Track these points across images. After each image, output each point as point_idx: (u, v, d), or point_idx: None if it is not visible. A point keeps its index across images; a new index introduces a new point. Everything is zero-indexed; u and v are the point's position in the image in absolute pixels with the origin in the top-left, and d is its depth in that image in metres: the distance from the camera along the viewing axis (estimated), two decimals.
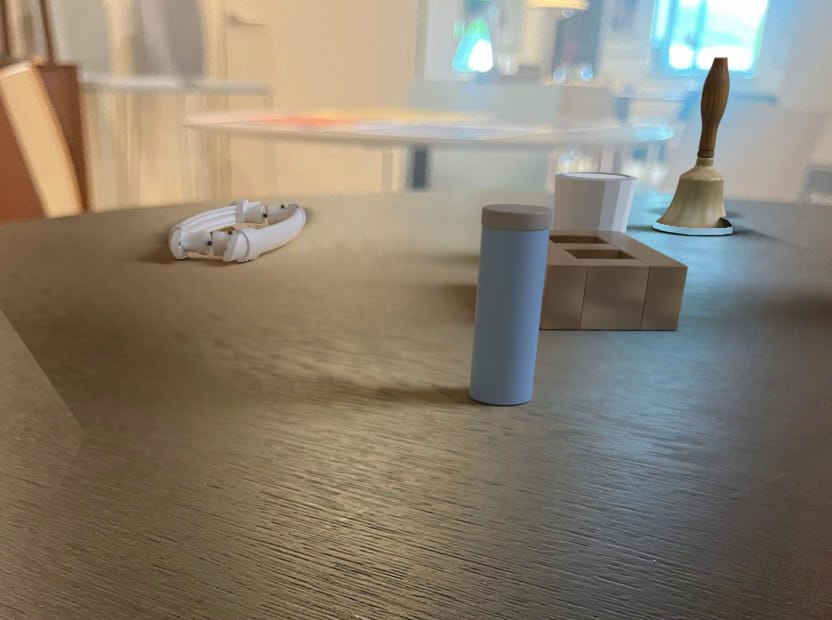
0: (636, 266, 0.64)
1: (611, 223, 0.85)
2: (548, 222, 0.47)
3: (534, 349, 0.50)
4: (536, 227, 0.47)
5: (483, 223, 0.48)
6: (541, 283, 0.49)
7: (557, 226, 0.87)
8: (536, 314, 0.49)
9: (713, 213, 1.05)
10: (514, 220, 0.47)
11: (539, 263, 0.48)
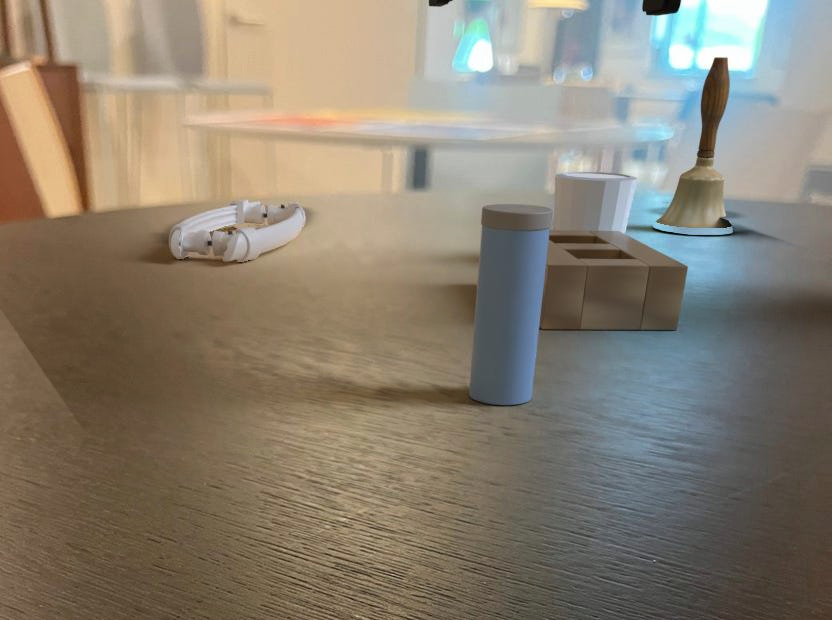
0: (636, 266, 0.64)
1: (611, 223, 0.85)
2: (548, 222, 0.47)
3: (534, 349, 0.50)
4: (536, 227, 0.47)
5: (483, 223, 0.48)
6: (541, 283, 0.49)
7: (557, 226, 0.87)
8: (536, 314, 0.49)
9: (713, 213, 1.05)
10: (514, 220, 0.47)
11: (539, 263, 0.48)
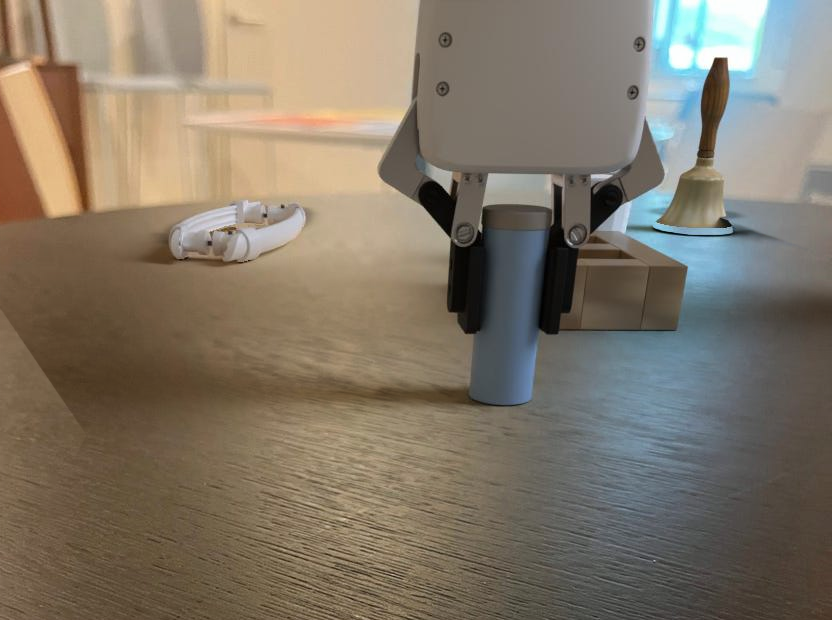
0: (636, 266, 0.64)
1: (611, 223, 0.85)
2: (548, 222, 0.47)
3: (534, 349, 0.50)
4: (536, 227, 0.47)
5: (483, 223, 0.48)
6: (541, 283, 0.49)
7: None
8: (536, 314, 0.49)
9: (713, 213, 1.05)
10: (514, 220, 0.47)
11: (539, 263, 0.48)
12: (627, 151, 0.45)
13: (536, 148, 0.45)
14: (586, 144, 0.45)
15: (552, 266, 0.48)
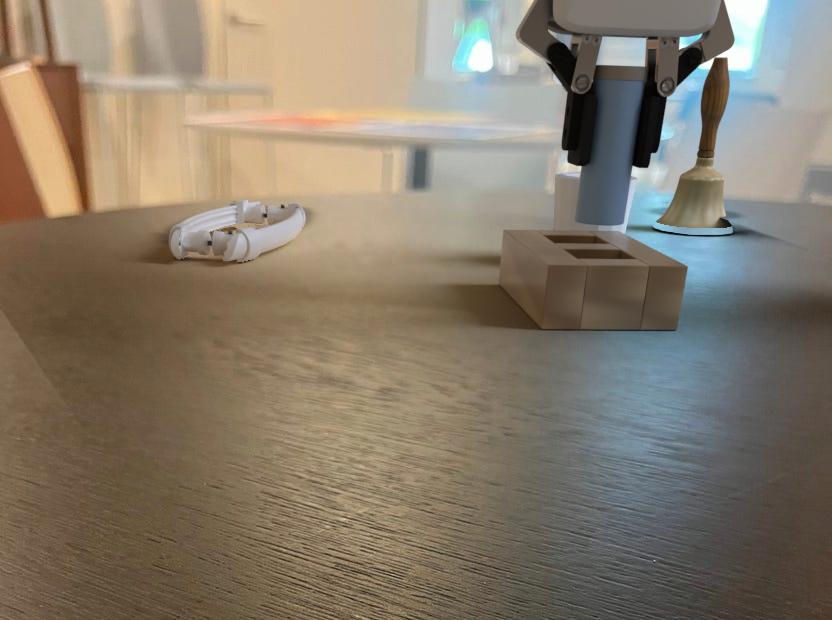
0: (636, 266, 0.64)
1: None
2: (645, 75, 0.62)
3: (629, 180, 0.65)
4: (636, 78, 0.62)
5: (595, 77, 0.63)
6: (637, 125, 0.64)
7: (557, 226, 0.87)
8: (632, 151, 0.64)
9: (713, 213, 1.05)
10: (620, 72, 0.62)
11: (637, 108, 0.63)
12: (709, 18, 0.60)
13: (641, 14, 0.60)
14: (678, 11, 0.60)
15: (647, 111, 0.63)
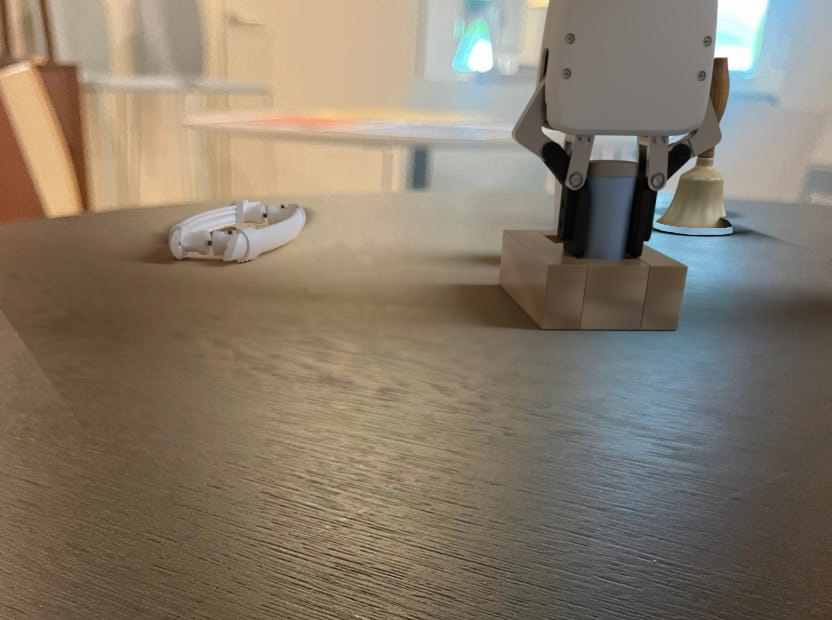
0: (636, 266, 0.64)
1: None
2: (636, 171, 0.65)
3: None
4: (628, 175, 0.65)
5: (588, 173, 0.65)
6: (629, 217, 0.66)
7: (557, 226, 0.87)
8: (625, 241, 0.67)
9: (713, 213, 1.05)
10: (612, 169, 0.64)
11: (629, 202, 0.66)
12: (696, 118, 0.63)
13: (631, 116, 0.62)
14: (667, 113, 0.62)
15: (638, 204, 0.65)
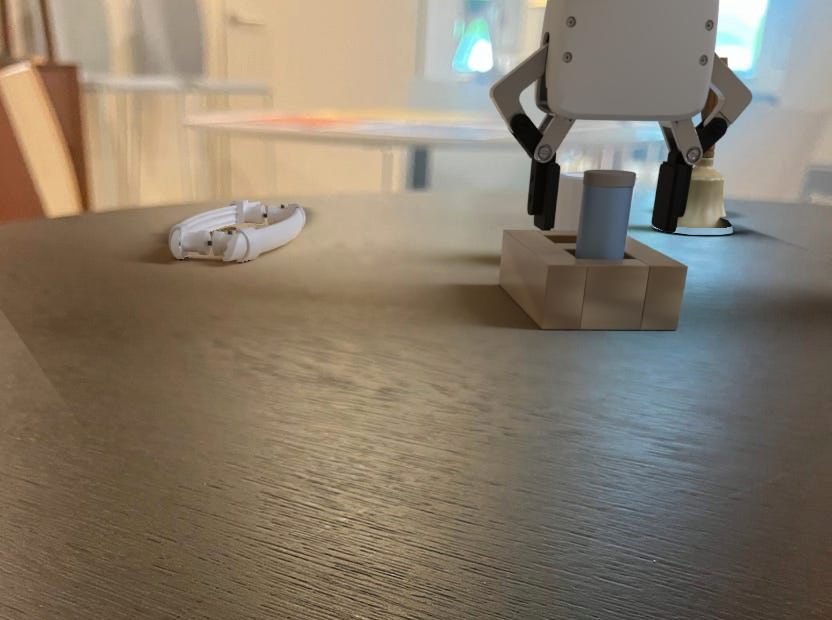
0: (636, 266, 0.64)
1: None
2: (633, 182, 0.65)
3: None
4: (625, 185, 0.65)
5: (585, 183, 0.66)
6: (626, 227, 0.67)
7: (557, 226, 0.87)
8: (622, 250, 0.67)
9: (713, 213, 1.05)
10: (609, 180, 0.64)
11: (626, 212, 0.66)
12: (698, 103, 0.62)
13: (632, 101, 0.62)
14: (668, 98, 0.62)
15: (674, 179, 0.65)
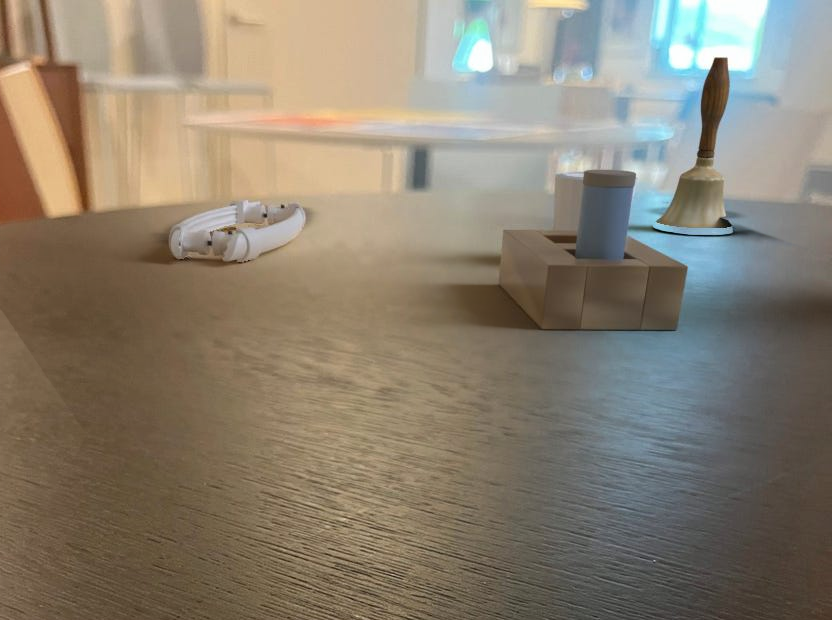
0: (636, 266, 0.64)
1: None
2: (633, 182, 0.65)
3: None
4: (625, 185, 0.65)
5: (585, 183, 0.66)
6: (626, 227, 0.67)
7: (557, 226, 0.87)
8: (622, 250, 0.67)
9: (713, 213, 1.05)
10: (609, 180, 0.64)
11: (626, 212, 0.66)
12: None
13: None
14: None
15: None
